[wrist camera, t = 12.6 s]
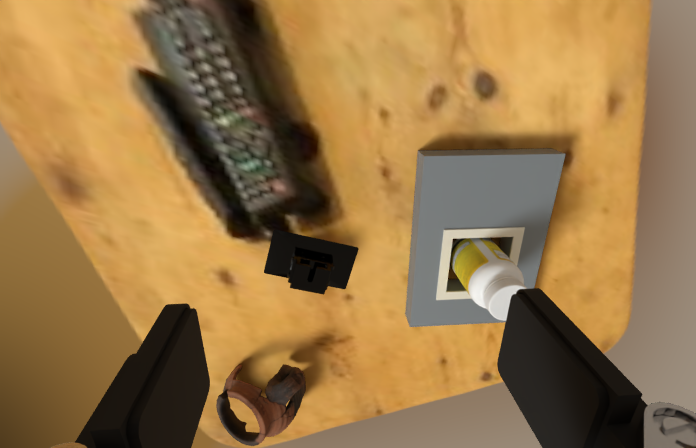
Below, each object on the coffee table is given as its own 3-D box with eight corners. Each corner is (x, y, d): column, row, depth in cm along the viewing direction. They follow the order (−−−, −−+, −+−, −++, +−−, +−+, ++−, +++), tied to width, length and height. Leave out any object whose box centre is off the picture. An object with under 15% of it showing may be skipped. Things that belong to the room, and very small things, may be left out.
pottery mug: (287, 415, 52) (248, 464, 45) (243, 362, 53) (197, 403, 46) (338, 378, 46) (301, 428, 39) (286, 319, 47) (241, 358, 40)
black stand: (372, 242, 43) (378, 262, 38) (354, 296, 45) (358, 320, 41) (261, 217, 40) (255, 236, 36) (249, 275, 43) (242, 298, 39)
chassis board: (417, 150, 38) (424, 156, 36) (551, 148, 39) (566, 154, 37) (405, 314, 46) (410, 328, 44) (516, 308, 47) (527, 322, 45)
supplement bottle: (447, 276, 45) (480, 331, 36) (446, 235, 42) (481, 282, 33) (492, 269, 45) (537, 322, 36) (494, 227, 42) (541, 273, 34)
